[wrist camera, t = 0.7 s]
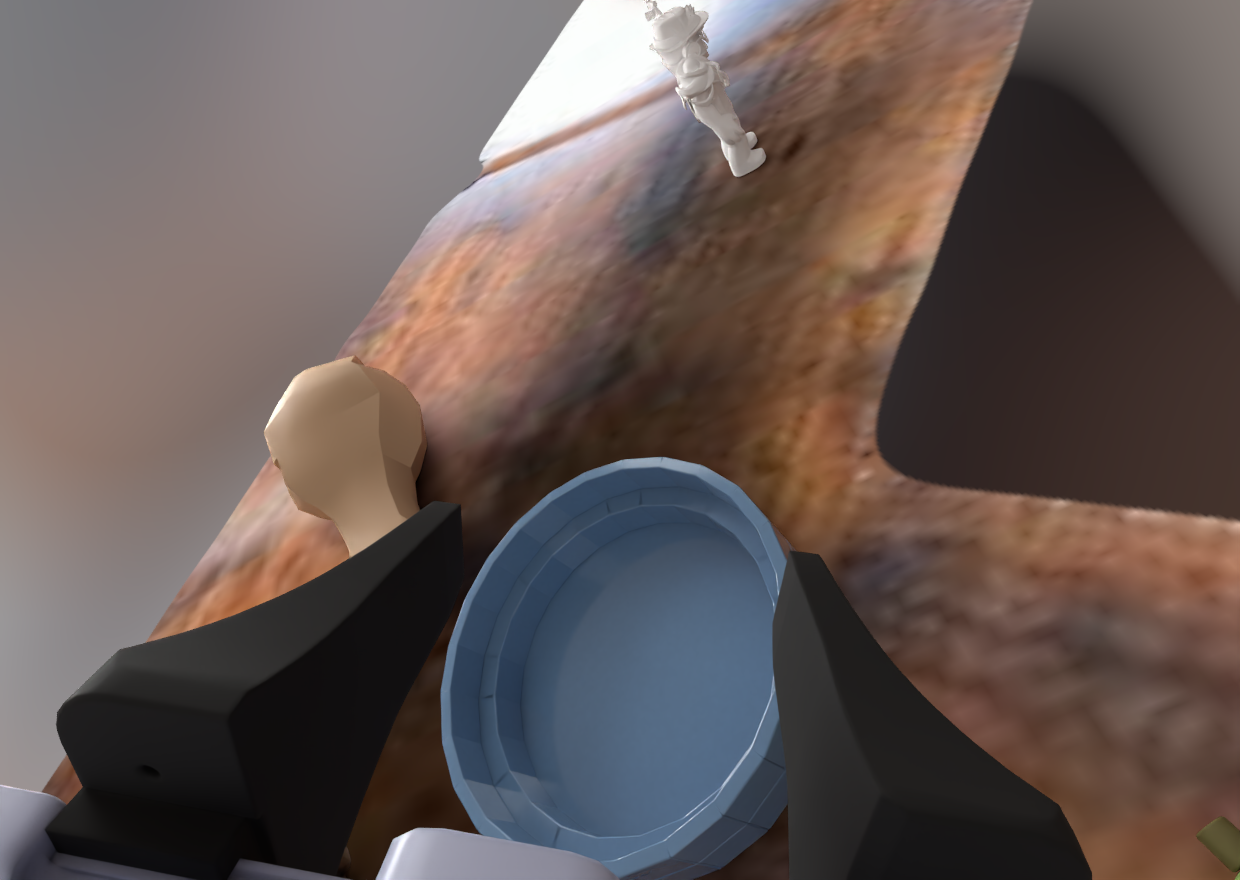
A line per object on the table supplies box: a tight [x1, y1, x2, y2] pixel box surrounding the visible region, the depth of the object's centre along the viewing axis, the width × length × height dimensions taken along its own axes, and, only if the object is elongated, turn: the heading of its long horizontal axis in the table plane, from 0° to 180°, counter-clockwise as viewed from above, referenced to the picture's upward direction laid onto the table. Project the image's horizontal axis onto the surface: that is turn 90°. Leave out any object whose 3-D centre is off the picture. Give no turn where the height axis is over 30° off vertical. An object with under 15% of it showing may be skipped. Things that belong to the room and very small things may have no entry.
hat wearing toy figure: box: [644, 0, 766, 177], centre depth 45 cm, size 9×4×12 cm, turn 4°
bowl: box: [441, 457, 796, 880], centre depth 30 cm, size 17×17×4 cm
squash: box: [264, 355, 427, 558], centre depth 48 cm, size 11×20×9 cm, turn 31°
